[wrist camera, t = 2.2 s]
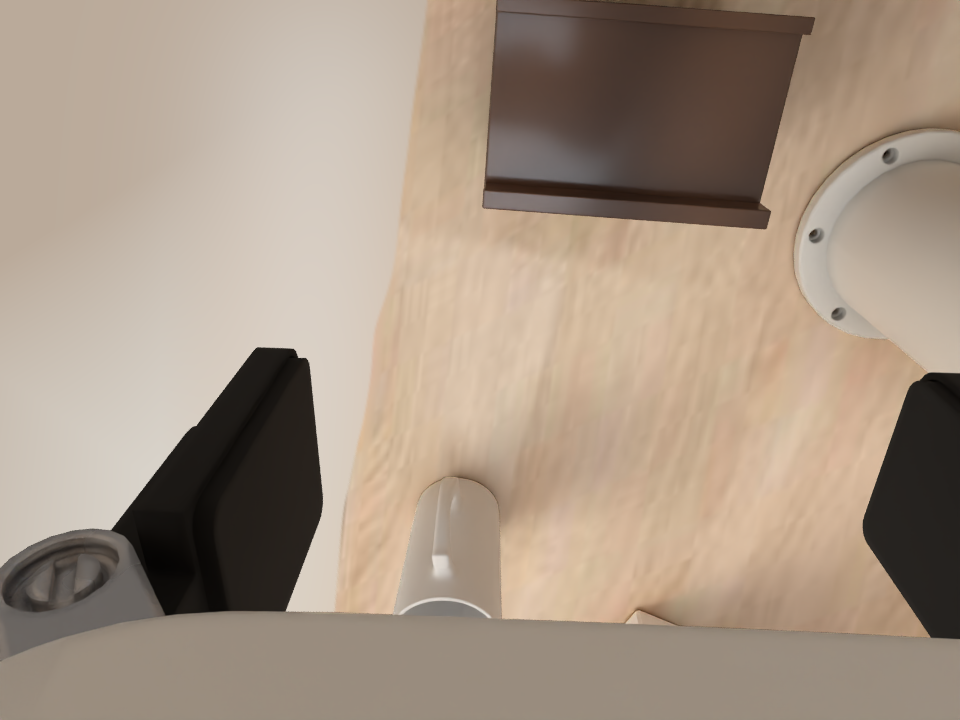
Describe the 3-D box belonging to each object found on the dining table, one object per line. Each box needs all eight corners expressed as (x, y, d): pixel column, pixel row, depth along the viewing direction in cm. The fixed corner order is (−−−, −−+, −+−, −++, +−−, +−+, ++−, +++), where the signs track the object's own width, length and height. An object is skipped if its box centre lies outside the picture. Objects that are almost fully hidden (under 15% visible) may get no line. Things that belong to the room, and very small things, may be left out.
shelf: (725, 16, 36) (822, 17, 25) (694, 170, 40) (766, 229, 29) (499, -1, 36) (497, -7, 25) (488, 154, 40) (482, 208, 29)
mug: (503, 544, 53) (503, 678, 42) (417, 545, 53) (395, 678, 43) (500, 435, 49) (498, 553, 38) (405, 436, 49) (377, 554, 38)
